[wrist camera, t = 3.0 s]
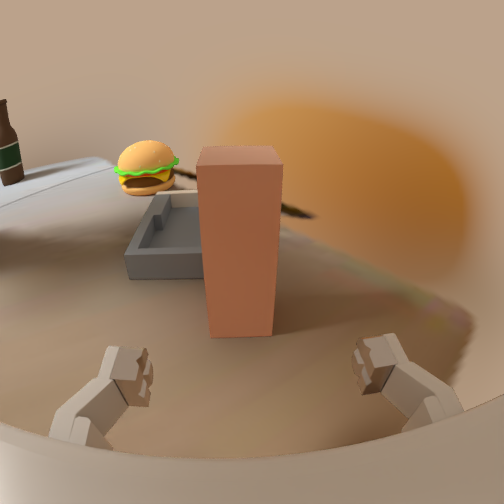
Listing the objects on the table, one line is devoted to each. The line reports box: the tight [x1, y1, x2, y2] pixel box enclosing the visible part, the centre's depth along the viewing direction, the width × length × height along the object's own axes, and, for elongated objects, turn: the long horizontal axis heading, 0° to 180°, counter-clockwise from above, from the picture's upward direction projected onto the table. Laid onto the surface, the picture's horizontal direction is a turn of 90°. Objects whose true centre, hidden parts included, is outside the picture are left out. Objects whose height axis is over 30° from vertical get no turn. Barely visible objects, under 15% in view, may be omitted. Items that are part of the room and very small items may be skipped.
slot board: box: [124, 190, 204, 279], centre depth 38 cm, size 17×10×3 cm, turn 4°
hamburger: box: [114, 140, 179, 196], centre depth 53 cm, size 12×12×9 cm
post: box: [196, 146, 283, 338], centre depth 23 cm, size 5×5×14 cm
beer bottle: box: [0, 99, 24, 186], centre depth 60 cm, size 8×8×24 cm
